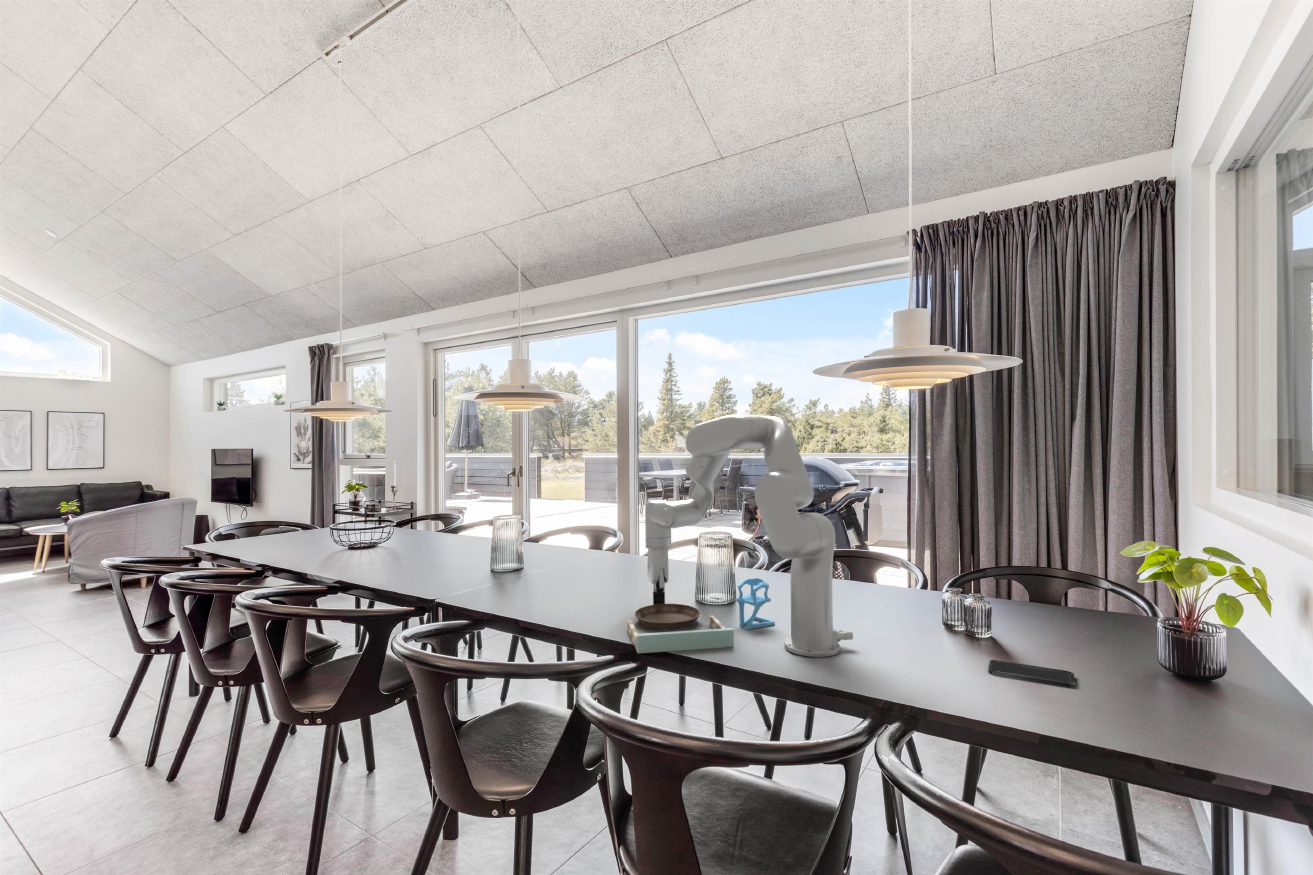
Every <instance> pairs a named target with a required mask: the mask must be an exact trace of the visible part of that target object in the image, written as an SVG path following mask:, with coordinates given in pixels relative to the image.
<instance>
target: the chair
mask: <svg viewBox="0 0 1313 875" xmlns="http://www.w3.org/2000/svg"><path fill="white" fill-rule="evenodd" d="M745 585H748V586H750V594H747V595H745V596H744V593H743V590H742V588H743V587H744V586H745ZM754 586H755V587H754ZM762 588H764V589H765V590H764V592H763V596H761V595H758V594H757V592H758V591H759V590H761V589H762ZM769 588H770V584H769V583H767V582H766V580H764V579H761V578H749V579H745V580H743V581H741V582H740V583H739V584H738V585H737V589H738V592H739V597H736V600H735V601H736V602H737V603H738V610H739V627H740V628H743V627H746V630H752V629H759V628H763V627H764V628H765V627H770V626H775V624H776V623H775V621H774V620H772V619H767V618H762V617H761V616H760V617H759V616H757V615H758V612H759V610H760V608H762V607H763V606H764V605H765V604H766V603H770V602H771V601H772V600H771V599H772V598H771V597H769V596H768V590H769ZM745 604H748V605H751V606H754V609H753V611H752V614H751V615H750V616H748V617H747V618H746V619H745ZM754 621H758V622H756V623H754Z"/></svg>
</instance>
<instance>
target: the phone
mask: <svg viewBox="0 0 1313 875" xmlns="http://www.w3.org/2000/svg"><path fill="white" fill-rule="evenodd" d="M987 671H988V674H989V675H993V676H997V677H1002V678H1010V679H1014V680H1021V681H1027V682H1031V683H1039V684H1045V685H1050V686H1056V687H1057V686H1058V687H1062V688H1070V689H1074V688H1076V679H1075V674H1074V672H1072V671H1069V670H1064V669H1056V668H1051V667H1044V666H1038V665H1032V664H1024V663H1018V662H1012V661H1011V662H1010V661H1003V660H999V659H998V660H997V659H991V660H989V662H988V668H987Z"/></svg>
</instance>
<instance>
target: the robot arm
mask: <svg viewBox="0 0 1313 875" xmlns="http://www.w3.org/2000/svg"><path fill="white" fill-rule="evenodd" d="M794 436H795V435H794V433H793V431H792V428H791V427H790V425H789V424H788V423H787V422H786V421H785V420H783V419H782V418H780V417H778V416H773V415H761V414H758V415H757V414H729V415H724V416H721V417H717V418H713V419H712V420H708V421H705V422H701V423H697V424H696V425H693V426H692V427H691V429H689V431H688V432H687V434H686V436H685V447H686V448H685V449H686V450H687V452H688V453H689V454H691V458H690V459H689V461H688V463H687V464H686V466H685V473H686V475H687V477H688V478H689V479H690V480H691V481H692V482H694V483H695V487H694V489H693V490H692V493H691V494H690V497H688V499H681V500H673V501H669V500H665V499H650V500H647V501H646V503H645V506H644V507H645V508H644V510H645V511H644V512H645V513H644V516H645V520H644V522H645V523H644V524H645V528H644V529H645V548H646V549H647V570H646V572H647V576H646V577H647V579H648V581H649V582H650V583H651V584H652V586H653V587H652V588H653V590H652V605H656V604H666V598H665V597H666V592H665V591H666V590H665V586H666V585H665V584H667V583H669V579H670V578H669V575H670V573H669V569H670V568H669V551H668V550H669V549H672V529H677V528H683V527H691V526H695V525H697V524H699V523H700V522H702V520H703V519H704V517H705V516H706V514H707V513H708V511H709V510H710V508H711V506H712V503H713V501H714V497H715V495H714V494H715V486H714V482H715V480H716V478H717V476H718V474H719V473H720V471H721V469H722V468H723V466H724V464H725V462H726V461H727V459H728V457H729V456H730V454H731V452H732V450H744V449H745V450H747V449H764V451H763V452H764V453H763V454H764V458H763V459H764V463H765V465H766V468H767V470H768V472H766V473H764V474H763V475H761V476H760V478H758V479H757V482H756V485H755V488H754V499H755V505H756V507H757V510H758V512H759V516H760V518H761V522H762V524H763V526H764V530H765V534H766V536H767V539H768V540H769V543H770V545H771V547H772V549H773V550H774V552H775V553H776V554H777V555H778V556H780V557H782V558H783V559H788V560H791V565H790V581H789V582H790V637H788V638H787V639H785V640H784V649H786V650H787V651H788V652H789V653H792V654H795V655H798V656H802V657H803V656H804V657H810V658H825V657H826V658H827V657H832V656H835V655H837V654H839V653H840V651H841V645H840V642H841V641H847V640H848V641H851V640H853V639H854V634H853V632H852V631H851V630H848V631H847V630H846V631H843V629H835V628H833V627H834V622H833V621H834V619H833V617H834V615H833V614H834V612H833V611H834V610H833V609H834V608H833V563H834V562H833V561H834V554H835V553H834V552H835V547H836V546H835V545H836V529H835V527H834V524H833V523H832V521H831V520H830V519H829V518H828V517H827V516H825V515H824V514H822V513H818V512H806V513H799V510H801V509H804V508H807V507H808V506H809V505H810V504H812V502H813V500H814V495H815V491H814V488H813V485H812V481H811V479H810V476H809V474H808V471H807V469H806V465H805V464H804V463H805V462H804V460H803V459H802V457H801V453H800V452H799V449H798V446H797V443H796V440H795V437H794Z"/></svg>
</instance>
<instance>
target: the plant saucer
mask: <svg viewBox="0 0 1313 875" xmlns="http://www.w3.org/2000/svg"><path fill="white" fill-rule="evenodd" d="M700 615H701V611H700V610H699V608H697V607H694V606H691V605H687V604H682V603H665V604H656V605H653V604H651V605H646V606H643V607H640V608H638V609H637V610H636V611H634V616H635V617H636V619H637V620H638V622H639V623H640V624H641V625H642V626H643V627H646V628H648V629H651V630H657V631H677V630H682V629H683V630H684V629H687V628H689V627H691V626H692V625H694V624H695V623H696V622H697V620H698V619H699V617H700Z"/></svg>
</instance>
